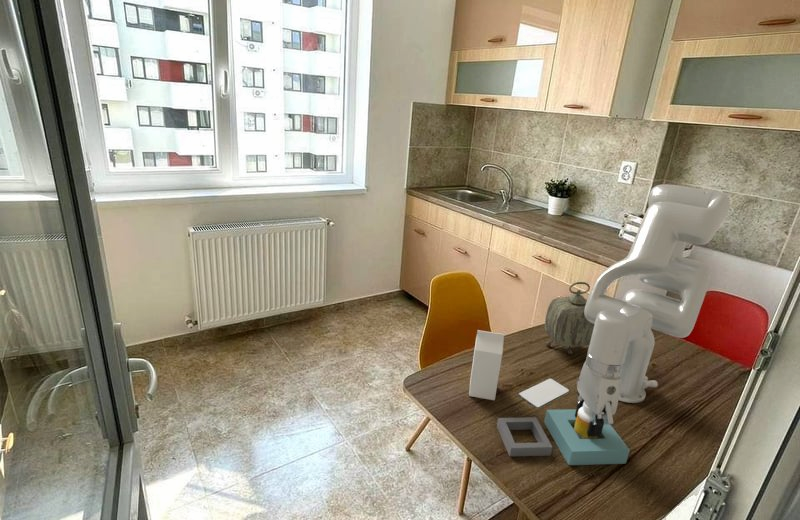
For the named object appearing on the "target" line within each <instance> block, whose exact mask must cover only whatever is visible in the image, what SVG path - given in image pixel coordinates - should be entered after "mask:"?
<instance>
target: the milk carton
mask: <svg viewBox="0 0 800 520" xmlns="http://www.w3.org/2000/svg"><path fill="white" fill-rule="evenodd" d="M504 337H505V334H504V333H499V332H491V331H486V330H479V329H477V331H476V336H475V345H474V351H473V357H472V365H471V372H470V379H469V389H468V391H469V392H468V396H469V397H473V398H474V397H475V398H479V399H485V400H490V401H495V400H496V396H497V395H496V394H497V387H498V384H499V383H498V382H499V377H500V372H501V371H500V370H501V364H502V359H503V353H504V351H503V350H504V342H505V341H504V339H505V338H504Z"/></svg>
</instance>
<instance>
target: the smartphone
mask: <svg viewBox="0 0 800 520" xmlns="http://www.w3.org/2000/svg"><path fill="white" fill-rule="evenodd" d="M569 392H570V389H569V388H568V387H566V386H564V385H563V384H561V383H559V382H558V381H556V380H554V379H553V378H547V379H545V380H543V381H541V382H539V383H537V384H535V385H533V386H531V387H528V388H526V389H524V390H522V391H520V392H518V393H517V396H519V397H520V398H521V399H523V400H524V401H526V402H527V403H528V404H530V405H531V406H532V407H534V408H536V409H539V408H541V407H543V406H544V405H547V404H549V403H550V402H552V401H554V400H556V399H558V398H560V397H561V396H564V395H565V394H567V393H569Z"/></svg>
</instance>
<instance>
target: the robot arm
mask: <svg viewBox="0 0 800 520" xmlns="http://www.w3.org/2000/svg"><path fill="white" fill-rule="evenodd" d="M647 202H648V203H647V204H648V208H647V209H646V211H645V214H644V216H643V218H642V220H641V223H640V225H639V228H638V230H637V233H636V235H635V237H634V239H633V241H632V242H633V243H632V245H631V247H630V248H629V249H630V250H629V252H628V254H627V255H626V257H625V258H623V259H621V260H619V261H617V262H615V263H613V264H612V265H610V266H608V267H607V268H606V269H605V270H603V272H601V273H600V275H599V276H598V277H597V278H596V280H595V281H594V284H593V287H592V288H591V291H590V292H589V295H588V298H587V299H586V300H587V302H586V305H585V310H584V315H585V318H586V319H587V320H588V321H589V322H591V323H593V324H594V329H593V333H592V337H591V341H590V345H588V349H587V354H586V358H585V360H584V363H583V366H582V368H581V370H580V373H579V377H578V379H577V380H576V387H577V388H576V389H577V396H578V397H577V398H576V402H577V405H576V408H575V409H576V412H575V417H576V418H577V414H578V410H579V409H580V408H581V407H583V403H584V401H585V402H586V403H587V405H588V406H589V407H590V409H591V410H592V411H593V415H592V421H591V422H590V424H589V427H588V431H587V435H588V436H589V437H594V436H601V433H602V429H603V425H606V424H610V425H613V424H614V419H613V418H614V415H615V414H616V411H617V408H618V404H619V401H620V402H623V403H628V404H631V403H632V404H637V403H641V402H643V401H644V400H645V398H646V396H647V395H646V394H647V393H646V390H645V389H648V388H657V387H658V386H659V384H658V383H659V382H657V380H656V379H655V380H649V377H648V376H646V373H647V371H648V367H649V364H650V360H651V358H652V354H653V351H654V347H655V344H656V343H655V337H654V336H655V335H654V333H653V331H652V330H654V331H658V332H660V333H664V334H666V335H669V336H672V337H675V338H681V339H682V338H683V339H684V338H686V337H688V336H690V334H691V333H692V332H693V329H694V327H695V324H696V322H697V319H698V316H699V315H700V311H701V308H702V305H703V302H704V300H705V297H706V294H707V291H708V289H709V288H708V287H709V285H710V281H711V277H712V276H711V269H710V267H709V265H708V264H706V263H704V262H702V261H700V260H695V259H691V258H687V257H684V255H683V254H684V252H685V249H686V245H687V243H688V244H691V245H698V246H703V245H707V244H708V243H709V242H711V240H712V239H713V238H714V237H715V234H716V233H717V231H718V230H719V228H720V227H721V225H722V223H723V222H724V220H725V219H726V217H727V215H728V212H729V209H730V198H729V196H728V195H727V194H725V192H724V193H723V192H721V191H716V190H709V189H703V188H697V187H690V186H685V185H678V184H671V183H670V184H666V183H662V184H657V185H655V186H654V187H652V188H651V190H650V192H649V195H648V201H647ZM637 275H638V278H639V280H640V281H641V282H642V283H643V284H645V285H648V286H650V287H653V288H657V289H660V290H663V291H667V292H669V293H670V292H671V293H674V294H677V295H679V296H680V298H681V299H677V298H674V297H671V296H668V295H665V294H662V293H658V292H655V291H651V290H647V289H643V288H631V289H629V290H627V291H626V292H625V293H624V295H623V296H622V299H620V298H619V299H618V298H615V297H612V296H609V295H606V293H607V291H608V290H609V288H610V287H611V286H612V284H613V283H615V282H616V281H618V280H621V279H623V278H625V277H630V276H637ZM599 414H601V419H597V415H599Z"/></svg>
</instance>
